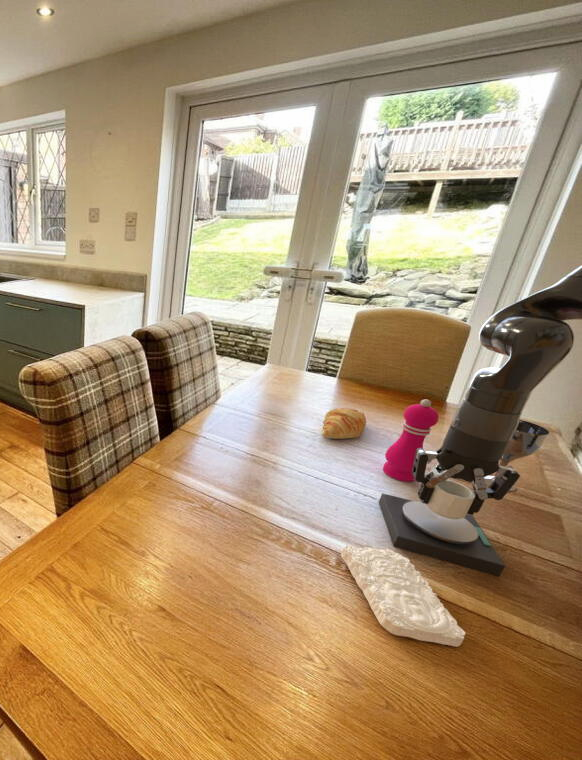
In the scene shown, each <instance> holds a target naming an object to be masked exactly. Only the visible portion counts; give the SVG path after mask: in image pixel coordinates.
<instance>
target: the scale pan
mask: <svg viewBox="0 0 582 760" xmlns="http://www.w3.org/2000/svg"><path fill="white" fill-rule="evenodd" d="M402 512H403V515H404V516H405V518H406V519H407V520H408V521H409V522H410V523H411V524H413V525H414V526H415V527H417V528H418V529H420V530H422V531H423V532H425V533H427V534H429V535H431V536H433V537H436V538H438V539H441V540H444V541H448V542H452V543H457V544H470V543H473V542H475V541H476V540H477V538H478V532H477V530H476V528H475V527H474V526H473V525H472V524H471V523H470V522H469V521H467V520H466V519H465V518H461V519H449V518H445V517H442V516H440V515H438V514H436V513H434V512H433V511H431V510H430V509H429V508H428V507H427V506H426V504H425V503H422V501H421V500H412V501H411V502H407V503H406V504H404V506H403V508H402Z"/></svg>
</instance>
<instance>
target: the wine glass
mask: <svg viewBox="0 0 582 760" xmlns="http://www.w3.org/2000/svg"><path fill="white" fill-rule="evenodd" d="M549 434H550V431H549V430H548V429H547V428H545V427H543V426H541V425H538V424H536V423H533V422H531V421H527V420H523V419H520V420H519V424H518V426H517V428H516V432H515V434H514V435H513V436H512V438H511V440H510V442H509V444H508V446H507V448H506V450H505V452H504V454H503V456H502V458H501V460H499V465H501V466H504V467H505V466H509V464H510V463H512V462H513V461H516V460H519V459H523V458H526V457H527V458H528V457H529V456H532V455H533V454H535V453H536V452H537V451H538V450H540V448H541V447H542V446H543V445H544V443H545V441H546V440H547V439H548V437H549ZM496 477H497V474H496V473H493V474H491V475H489V476H486V477H484V479H485V483H486V486H488V487H489V486H490V485H491V484H492V482H493V481H494V480H495V478H496ZM516 490H517V487H516V485H515V484H514V485H513V486H512V487H511V489H510V490H509V491H508V492H515V491H516Z"/></svg>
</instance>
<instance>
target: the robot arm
mask: <svg viewBox="0 0 582 760" xmlns="http://www.w3.org/2000/svg"><path fill="white" fill-rule="evenodd" d="M574 320H576V321H577V320H579V321H580V320H581V321H582V265H580V266H579V267H577V268H576V269H574V270H573V271H572V272H570V273H568V274H567V275H566V276H564V277H563V278H562V279H560V280H559V281H558V282H556V283H555V284H553V285H551V286H549V287H546V288H544V289H541V290H539V291H537V292H534V293H533V294H531V295H529V296H526V297H524V298H522V299H520V300H518V301H516V302H514V303H512V304H509V305H507V306H505V307H504V308H502V309H500V310H499V311H497V312H495V313H494V314H493V315H491V316H490V317H489V318H488V319H487V320H486V321H485V322H484V323H483V325H482V327H481V328H480V331H479V335H478V339H479V342H480V344H481V345H482V346H483V347H484V348H485V349H487V350H489V351H491V352H493V353H497V354H499V355H502V356H504V357H507V358H508V359H507V361H506V362H505V363H504V364H503V366H501V367H500V368H499V367H485V368H482V369H479V370H478V371H477V372H476V373H475V374H474V375H473V377H472V379H471V381H470V385H469V386H468V388H467V390H466V393H465V396H464V398H463V399H462V402H461V403H460V405H459V406H458V407H457V410H456V412H455V413H454V416H453V418H452V421H451V422H450V426H449V427H448V430H447V432H446V435H445V437H444V439H443V442H442V444H441V447H440V448H438V449H437V450H436V451H430V450H429V451H428V450H425V449H424V448H423V449H422V448H418V449H417V450H416V453H415V459H414V464H413V469H412V474H413V476H414V478H415V480H414V481H416V482H417V483H420V486H419V488H418V490H417V496H418V499H419V501H421V502H422V503H425V504H428V502H429V500H430V498H431V496H432V493H433V491H434V488H433V487H434V486H435V485H437V484H438V483H440V482H444V481H446V480H450V479H454V480H462V481H465V482H469V483H471V485H472V491H473V492H474V494H475V498H474V500H473V502H472V504H471V506H470V508H469V510H468V512H467V514H469V515H473V516H474V514H477V513H479V512H480V510H481V509H482V506H483V504H484V503H485V501H486V500H487V499H488V500H489V499H494V500H495V501H502V500H503V499H504V497H505V496H507V494H508V493H509V492H510V491H509V490H510V489H511V487H512V486H513V485H515V484H516V483H517V482H518V480H519V479H520V478H521V475H520V473H519V472H518V471H517V470H516V469H515V468H514V467H513V466H511V465H507V466H505V467H504V466H501V465H500V461H501V458H502V456H503V454H504V452H505V450H506V448H507V446H508V444H509V442H510V440H511V438H512V436H513V435H514V434H515V432H516V428H517V426H518V424H519V420H521V416H522V414H523V412H524V409H525V407H526V406H527V403H528V401H529V399H530V397H531V395H532V393H533V391H534V390H535V389H536V388H537V387H538V386H539V385H540V384H541V383H542V382H544V380H545V379H546V378H547V377H548V376H549V375H550V374H551V373H552V372H553V371H554V370H555V369H556V368H557V367H558V366H559V365H561V364H562V362H563V361H564V360H566V358H567V357H568V356H569V354H570V353H571V352H572V350H573V348H574V345H575V332H574V329H573V327H572V326H571V325H570V324H568V322H565V321H574ZM433 460H436V461H437V462H438V463H437V464H435V465H434V466H432V467H431V469H430V470H429V471H428V472H426V470H427V465H428V464H430V463H432V461H433ZM491 474H493V475H494V474H497V477H496V478H495V480H494V481H493V482H492V484H491V485H490V486H488V487H487V485H486V483H485V479H484V477H486V476H489V475H491Z"/></svg>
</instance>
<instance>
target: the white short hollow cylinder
mask: <svg viewBox="0 0 582 760" xmlns="http://www.w3.org/2000/svg"><path fill="white" fill-rule="evenodd" d="M433 488H434V491H433V493H432V496H431V498H430V500H429V502H428V504H426V506H427V507H428V508H429V509H430V510H431V511H433V512H434V513H436V514H438V515H440V516H442V517H445V518H449V519H461V518H465V516H466V514H467V512H468V510H469V508H470V506H471V504H472V502H473V500H474V498H475V494H474V490H473V489H470V487H467V486H465V485H464V484H462V483H459V482H457V481H454V480H451V479H447V480H446V481H444V482H440V483H438V484H437V485H435V486H434V487H433Z"/></svg>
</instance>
